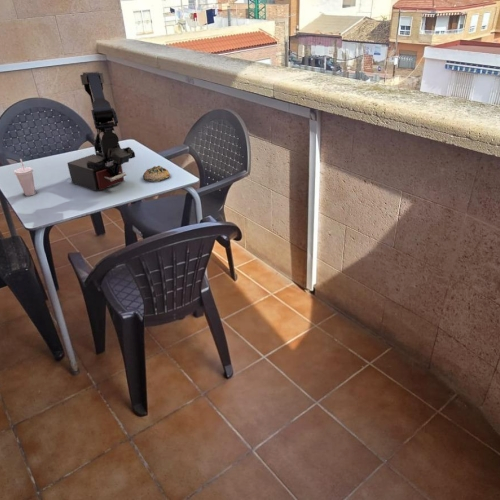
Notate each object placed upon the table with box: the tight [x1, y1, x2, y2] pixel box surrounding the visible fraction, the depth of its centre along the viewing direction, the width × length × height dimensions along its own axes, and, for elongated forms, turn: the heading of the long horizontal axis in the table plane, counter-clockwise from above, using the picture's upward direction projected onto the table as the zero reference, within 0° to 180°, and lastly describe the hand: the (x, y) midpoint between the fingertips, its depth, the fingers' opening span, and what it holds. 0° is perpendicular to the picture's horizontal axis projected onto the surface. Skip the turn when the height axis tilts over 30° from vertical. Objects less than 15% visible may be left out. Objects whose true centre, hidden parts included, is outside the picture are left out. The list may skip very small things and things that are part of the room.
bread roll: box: [142, 165, 170, 182], centre depth 178 cm, size 11×11×5 cm
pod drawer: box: [94, 165, 127, 191], centre depth 171 cm, size 19×11×7 cm, turn 55°
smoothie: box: [13, 158, 36, 197], centre depth 162 cm, size 6×6×14 cm
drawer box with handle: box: [67, 153, 104, 192], centre depth 173 cm, size 16×13×9 cm
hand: (115, 180), depth 168 cm, fingers closed, pressing on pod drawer
